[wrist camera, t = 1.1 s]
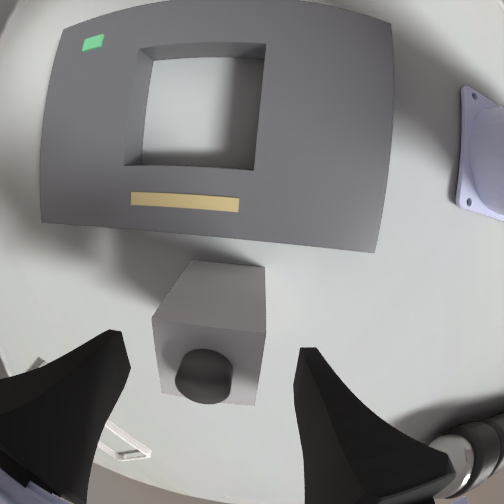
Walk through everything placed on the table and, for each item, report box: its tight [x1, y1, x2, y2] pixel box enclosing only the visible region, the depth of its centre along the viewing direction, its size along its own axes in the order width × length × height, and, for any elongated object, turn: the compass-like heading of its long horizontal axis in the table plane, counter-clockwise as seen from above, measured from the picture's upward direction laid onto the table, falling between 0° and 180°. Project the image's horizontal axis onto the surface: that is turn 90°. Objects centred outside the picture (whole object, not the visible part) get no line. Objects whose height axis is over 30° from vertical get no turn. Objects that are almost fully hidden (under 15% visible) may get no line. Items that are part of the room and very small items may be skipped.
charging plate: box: [40, 0, 394, 253], centre depth 11 cm, size 18×12×2 cm, turn 85°
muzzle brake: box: [428, 412, 504, 499], centre depth 16 cm, size 10×28×10 cm, turn 77°
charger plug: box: [152, 260, 266, 406], centre depth 12 cm, size 4×4×7 cm
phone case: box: [38, 361, 152, 461], centre depth 21 cm, size 7×1×15 cm
